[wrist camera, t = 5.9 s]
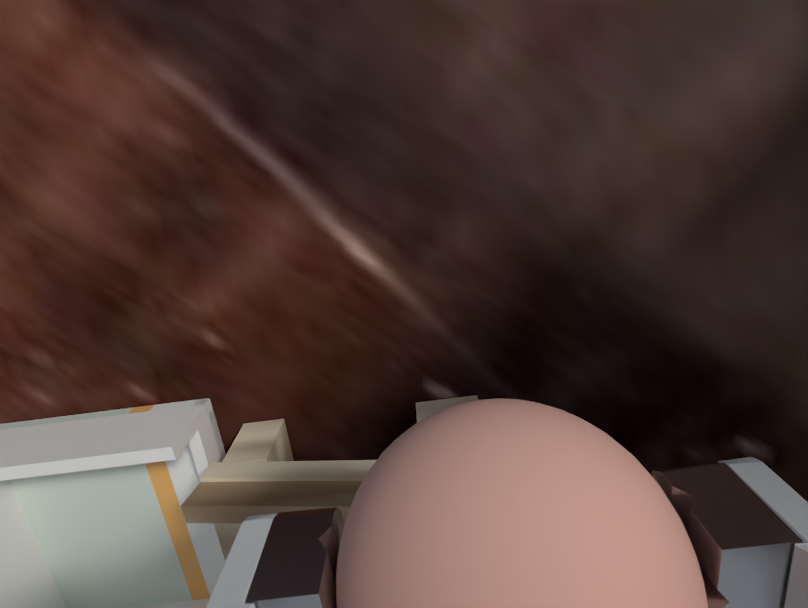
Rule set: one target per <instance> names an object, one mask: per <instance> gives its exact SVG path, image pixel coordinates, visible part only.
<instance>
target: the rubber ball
mask: <svg viewBox="0 0 808 608" xmlns="http://www.w3.org/2000/svg"><path fill="white" fill-rule="evenodd" d="M336 601H337V608H708V602H707V596H706V591H705V586H704V581H703V577H702V574H701V570H700V566H699V562H698V559H697V556H696V553H695V551H694V548H693V546H692V543H691V541H690V539H689V536H688V534H687V532H686V530H685V527H684V525H683V523H682V520H681V519H680V517H679V515H678V514H677V512H676V511H675V509H674V507H673V506H672V504H671V503H670V501H669V499H668V498H667V496H666V495H665V493H664V491H663V490H662V488H661V487H660V485H659V484H658V483H657V482H656V481H655V479H654V478H653V477H652V476H651V475H650V474H649V472H648V471H647V470H646V469H645V468H644V467H643V466H642V465H641V463H640V462H639V461H638V460H637V459H636V458H635V457H634V456H633V455H632V454H631V453H630V452H628V451H627V450H626V449H625V448H624V447H622V446H621V445H620V444H619V443H618V442H616V441H615V440H614V439H613V438H611V437H610V436H609V435H608V434H607V433H605V432H603V431H602V430H600V429H599V428H597V427H595V426H594V425H592V424H590V423H589V422H587V421H585V420H583V419H581V418H579V417H577V416H575V415H573V414H570V413H568V412H566V411H564V410H561V409H558V408H554V407H551V406H548V405H544V404H540V403H536V402H531V401H525V400H519V399H503V398H497V399H483V400H476V401H471V402H465V403H461V404H458V405H455V406H451V407H448V408H445V409H443V410H441V411H438V412H436V413H434V414H432V415H429V416H428V417H426V418H424V419H423V420H421V421H419V422H418V423H416V424H414V425H413V426H412V427H411V428H409V429H408V430H407V431H405V432H404V433H403V434H401V435H400V436H399V437H398V438H397V439H396V440H394V441H393V442H392V443H391V444H390V445H389V446H388V447H387V448H386V449H385V451H384V452H383V453H382V454H381V455H380V457H379V458H378V459H377V461H376V462H375V463H374V465H373V466H372V467H371V469H370V470H369V472H368V473H367V474H366V476H365V478H364V479H363V481H362V483H361V485H360V487H359V489H358V490H357V492H356V495H355V497H354V499H353V502H352V504H351V507H350V509H349V512H348V515H347V518H346V521H345V524H344V528H343V532H342V536H341V541H340V546H339V552H338V558H337V571H336Z"/></svg>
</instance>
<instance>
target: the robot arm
mask: <svg viewBox="0 0 808 608" xmlns="http://www.w3.org/2000/svg"><path fill="white" fill-rule="evenodd" d="M651 476H652V477H653V478H654V479H655V481H656V482H657V483H658V484H659V485H660V487H661V488H662V490H663V491H664V493H665V495H666V496H667V498H668V499H669V501H670V503H671V504H672V506H673V507H674V509H675V511H676V512H677V514H678V515H679V517H680V519H681V520H682V523H683V525H684V527H685V530H686V532H687V534H688V536H689V539H690V541H691V543H692V546H693V548H694V551H695V553H696V556H697V559H698V562H699V566H700V570H701V574H702V577H703V581H704V586H705V591H706V596H707V602H708V608H808V502H807V501H806V500H805V499H804V498H802V497H801V496H800V495H799V494H798V493H797V492H796V491H795V490H793V489H792V488H791V487H790V486H789V485H788V484H787V483H786V482H784V481H783V480H782V479H781V478H780V477H779V476H778V475H777V474H775V473H774V472H773V471H772V470H771V469H770V468H769V467H768V466H766V465H765V464H764V463H763V462H762V461H760V460H758V459H756V458H753V457H746V458H739V459H732V460H724V461H718V462H717V463H705V464H697V465H689V466H681V467H673V468H665V469H657V470H653V471H652V473H651ZM343 528H344V521H343V517H342V513H341V510H340V509H339V508H337V507H334V508H323V509H312V510H301V511H290V512H279V513H278V514H265V515H254V516H248V517H247V518H246V519H245V520H244V521H243V522H242V524H241V526H240V528H239V531H238V533H237V535H236V538H235V540H234V542H233V545H232V547H231V550H230V552H229V554H228V557H227V559H226V561H225V564H224V566H223V568H222V571H221V573H220V575H219V578H218V580H217V583H216V585H215V587H214V590H213V592H212V594H211V597H210V599H209V601H208V604H207V606H206V608H337V601H336V571H337V558H338V552H339V546H340V541H341V536H342V532H343Z"/></svg>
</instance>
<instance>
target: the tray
mask: <svg viewBox="0 0 808 608" xmlns="http://www.w3.org/2000/svg"><path fill="white" fill-rule="evenodd" d="M225 456H226V453H225V450H224V446H223V443H222V439H221V436H220V432H219V429H218V425H217V422H216V418H215V415H214V411H213V408H212V404H211V401H210V398H206V399H198V400H190V401H182V402H174V403H166V404H158V405H150V406H142V407H134V408H126V409H117V410H109V411H101V412H93V413H85V414H77V415H69V416H61V417H53V418H45V419H37V420H29V421H21V422H13V423H5V424H0V608H206V606H207V604H208V601H209V599H210V597H211V594H212V592H213V590H214V587H215V585H216V583H217V580H218V578H219V575H220V573H221V571H222V568H223V566H224V564H225V558H224V555H223V552H222V549H221V546H220V542H219V539H218V536H217V533H216V530H215V526H214V523H186V521H185V518H184V515H183V512H182V509H181V505H182V504H183V503H184V502H185V500H186V499H187V498H188V497H189V495H190V494H191V493H192V492H193V491H194V489H195V488H196V487H197V486H198V485H199V483H200V482H201V481H200V477H201V475H202V474H203V473H204V472H205V471H206V470H207V468H208V467H209V466H210V465H211V464H212V463H214V462H222V461H223V459H224V457H225Z"/></svg>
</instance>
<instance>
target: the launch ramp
mask: <svg viewBox="0 0 808 608" xmlns="http://www.w3.org/2000/svg"><path fill="white" fill-rule="evenodd" d="M476 400H479V399H478V396H477V395H473V396H465V397H457V398H449V399H440V400H432V401H424V402H416V415H417V423H418V422H419V421H421V420H423V419H424V418H426V417H428V416H429V415H432V414H434V413H436V412H438V411H441V410H443V409H445V408H448V407H451V406H455V405H458V404H461V403H465V402H471V401H476ZM376 461H377V460H335V461H294V459H293V455H292V451H291V446H290V442H289V438H288V434H287V429H286V425H285V421H284V419H278V420H269V421H261V422H253V423H245V424H243V426H242V428H241V430H240V431H239V433H238V435H237V437H236V438H235V440H234V442H233V443H232V445H231V447H230V449H229V450H228V452H227V454H226V456H225V457H224V459H223V461H222V462H214V463H212V464H211V465H210V466H209V467H208V468H207V470H206V471H205V472H204V473H203V474H202V475H201V477H200V481H201V482H200V483H199V485H198V486H197V487H196V488H195V489H194V491H193V492H192V493H191V494H190V495H189V497H188V498H187V499H186V500H185V502H184V503H183V504H182V505H181V509H182V512H183V515H184V518H185V521H186V523H214V526H215V530H216V533H217V536H218V539H219V542H220V546H221V549H222V552H223V555H224V558H225V561H226V559H227V557H228V554H229V552H230V550H231V547H232V545H233V542H234V540H235V538H236V535H237V533H238V531H239V528H240V526H241V524H242V522H243V521H244V520H245V519H246V518H247V517H248V516H254V515H265V514H278V513H279V512H290V511H301V510H312V509H323V508H334V507H337V508H339V509H340V510H341V513H342V517H343V521H344V524H345V521H346V518H347V515H348V512H349V509H350V507H351V504H352V502H353V499H354V497H355V495H356V492H357V490H358V489H359V487H360V485H361V483H362V481H363V479H364V478H365V476H366V474H367V473H368V472H369V470H370V469H371V467H372V466H373V465H374V463H375V462H376Z"/></svg>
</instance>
